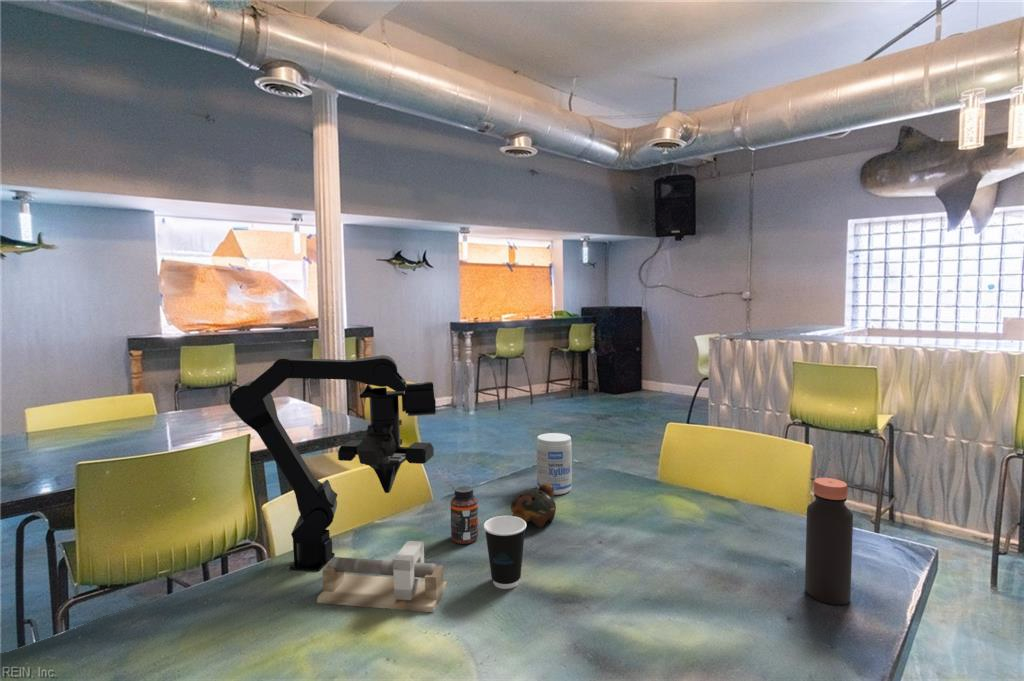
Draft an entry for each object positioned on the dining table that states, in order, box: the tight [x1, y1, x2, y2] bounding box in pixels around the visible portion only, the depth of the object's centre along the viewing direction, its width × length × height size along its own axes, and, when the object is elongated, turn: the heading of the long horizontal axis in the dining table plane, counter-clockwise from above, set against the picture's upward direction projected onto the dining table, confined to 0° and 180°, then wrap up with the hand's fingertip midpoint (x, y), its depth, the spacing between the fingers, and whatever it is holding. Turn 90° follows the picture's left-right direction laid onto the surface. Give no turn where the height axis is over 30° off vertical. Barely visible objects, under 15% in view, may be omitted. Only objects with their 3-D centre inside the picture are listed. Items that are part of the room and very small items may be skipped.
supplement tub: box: [536, 432, 573, 496], centre depth 142 cm, size 10×10×15 cm
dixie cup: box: [482, 515, 527, 590], centre depth 96 cm, size 8×8×11 cm
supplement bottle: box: [450, 485, 479, 545], centre depth 114 cm, size 6×6×11 cm
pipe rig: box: [316, 556, 448, 613], centre depth 93 cm, size 21×8×6 cm, turn 81°
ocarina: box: [510, 483, 557, 529], centre depth 121 cm, size 10×15×8 cm, turn 148°
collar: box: [392, 540, 425, 600], centre depth 92 cm, size 3×7×7 cm, turn 171°
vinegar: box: [804, 477, 854, 606], centre depth 89 cm, size 7×7×20 cm
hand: (387, 492), depth 107 cm, fingers closed
